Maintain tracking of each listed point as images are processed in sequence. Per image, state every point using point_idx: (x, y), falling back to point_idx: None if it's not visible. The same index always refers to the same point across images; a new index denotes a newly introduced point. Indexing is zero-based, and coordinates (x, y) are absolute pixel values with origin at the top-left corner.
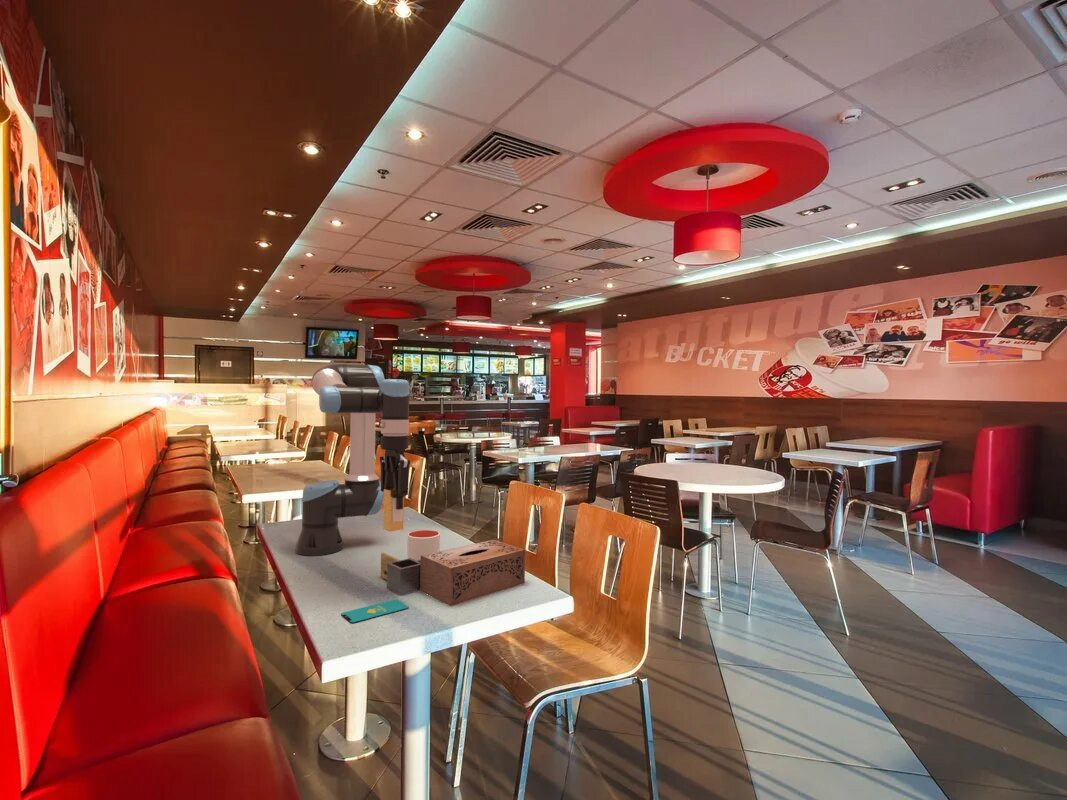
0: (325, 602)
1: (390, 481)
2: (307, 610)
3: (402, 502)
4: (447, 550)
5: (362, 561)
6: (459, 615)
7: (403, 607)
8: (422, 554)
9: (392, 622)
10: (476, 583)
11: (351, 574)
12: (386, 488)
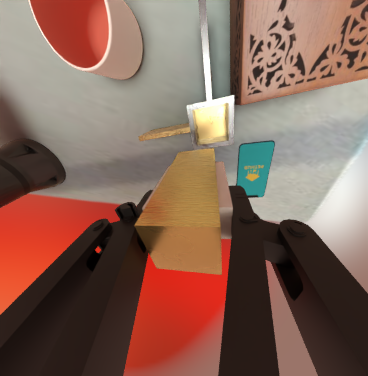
0: None
1: (129, 291)
2: None
3: (249, 203)
4: (251, 6)
5: (87, 134)
6: (362, 86)
7: (270, 147)
8: (131, 51)
9: (292, 169)
10: None
11: (133, 159)
12: (146, 259)
